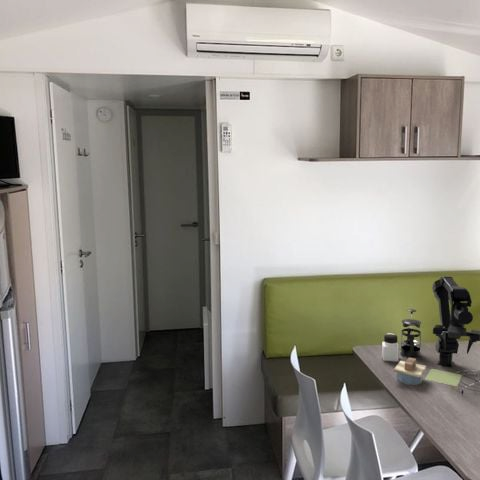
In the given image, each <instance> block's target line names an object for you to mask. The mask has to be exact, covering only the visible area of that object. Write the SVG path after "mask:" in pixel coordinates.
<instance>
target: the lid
mask: <svg viewBox="0 0 480 480" xmlns="http://www.w3.org/2000/svg"><path fill="white" fill-rule="evenodd" d="M426 370H427V365H424V364H419V363H417V358H409V357H407V359H406V361H405V360H399V361H398V364H396V366H395V367H394V368H393V372H394V373H397V372H398V373H402V374H407V375H412V376H417V377H421V376H422V374H423V375H424V373H425V371H426Z"/></svg>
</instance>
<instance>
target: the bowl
mask: <svg viewBox="0 0 480 480" xmlns="http://www.w3.org/2000/svg"><path fill="white" fill-rule="evenodd" d="M396 379H397V381H398V382H400V383H402V384H404V385H407V386H408V385H409V386H418V385H420V384H423V380H424V373H423V374H422V376H421V377H417V376H412V375H407V374H402V373H398V372H396Z"/></svg>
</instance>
